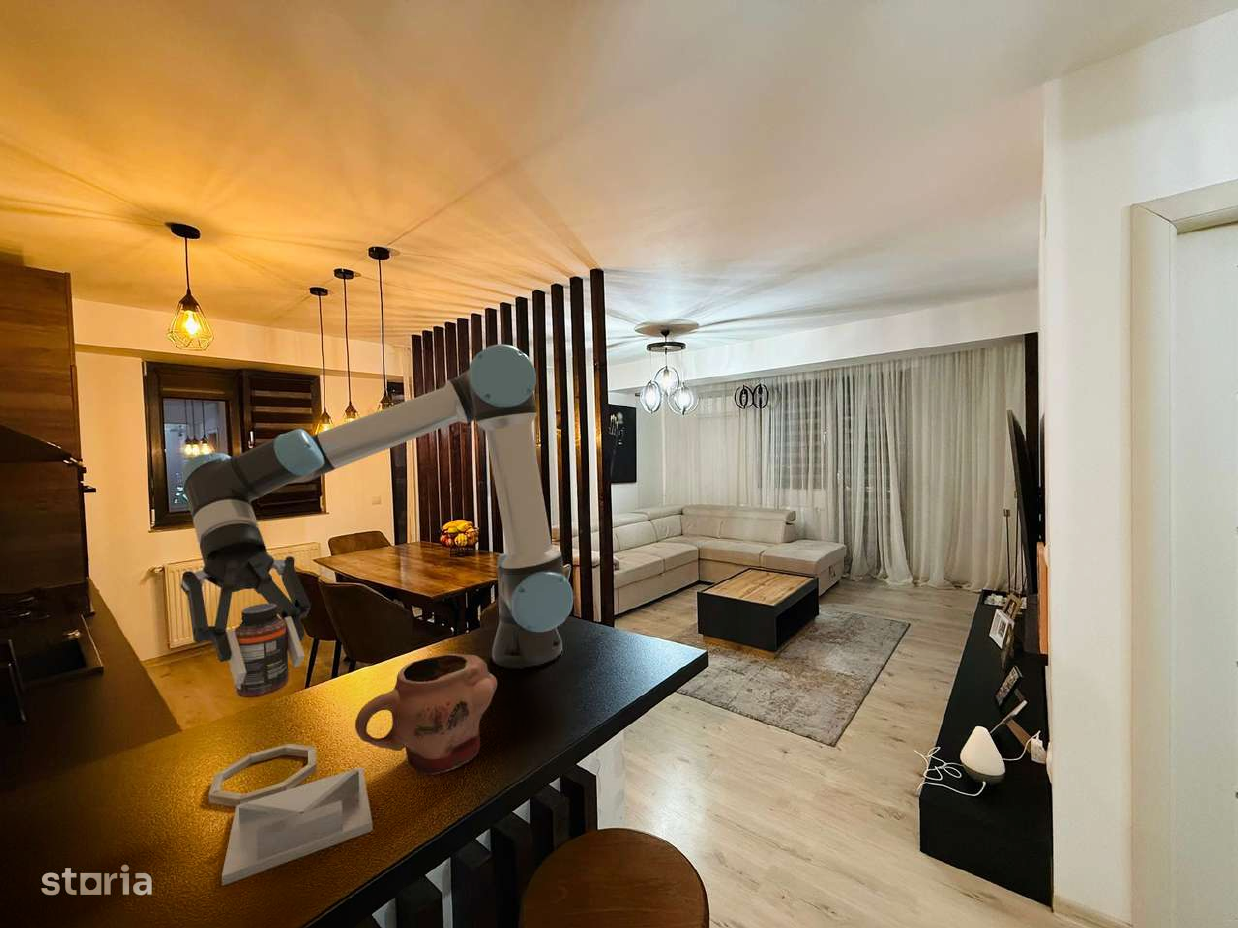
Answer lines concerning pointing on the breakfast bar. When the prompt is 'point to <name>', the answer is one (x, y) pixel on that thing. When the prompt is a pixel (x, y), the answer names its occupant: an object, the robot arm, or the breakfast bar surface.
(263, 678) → the supplement bottle
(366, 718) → the sculpted ceramic mug
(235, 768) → the wooden collar
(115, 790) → the breakfast bar surface
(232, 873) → the v-block
